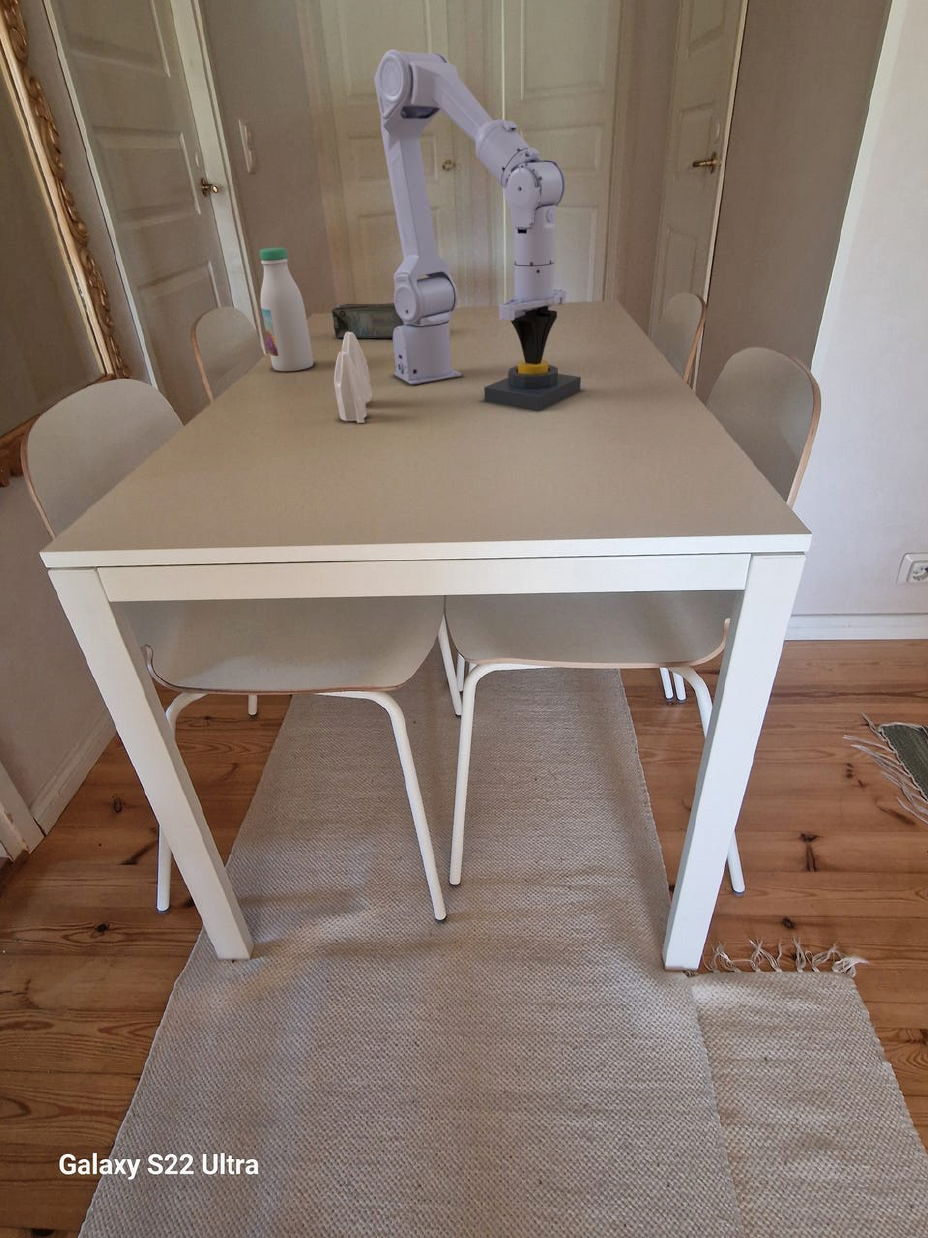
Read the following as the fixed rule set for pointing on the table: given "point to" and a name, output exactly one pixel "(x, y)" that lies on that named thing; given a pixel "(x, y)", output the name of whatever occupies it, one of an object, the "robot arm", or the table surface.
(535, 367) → the button
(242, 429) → the table surface
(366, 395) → the white pointed piece
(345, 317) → the beverage carton
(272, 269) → the milk bottle
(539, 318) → the robot arm
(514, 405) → the grey button base
